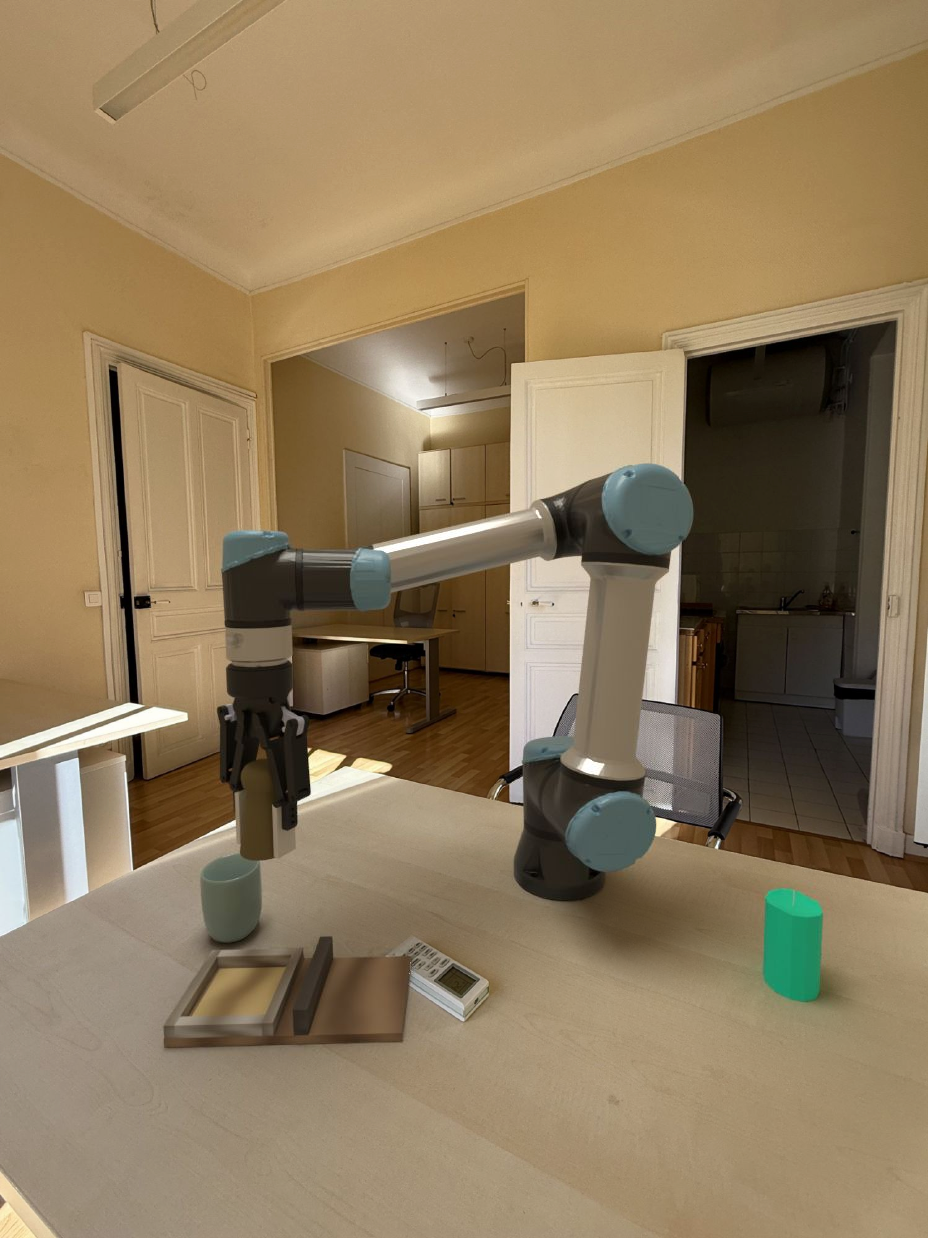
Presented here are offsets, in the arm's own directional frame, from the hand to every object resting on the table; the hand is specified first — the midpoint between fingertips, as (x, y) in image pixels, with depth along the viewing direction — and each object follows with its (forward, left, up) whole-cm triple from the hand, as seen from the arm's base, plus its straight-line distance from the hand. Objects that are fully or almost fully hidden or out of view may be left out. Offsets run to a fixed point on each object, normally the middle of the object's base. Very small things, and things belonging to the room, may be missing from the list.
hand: (265, 845), depth 68 cm
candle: (-64, +2, -18) cm, 67 cm away
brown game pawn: (0, 0, 0) cm, 0 cm away
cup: (+9, -10, -18) cm, 22 cm away
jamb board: (-4, +3, -18) cm, 19 cm away
